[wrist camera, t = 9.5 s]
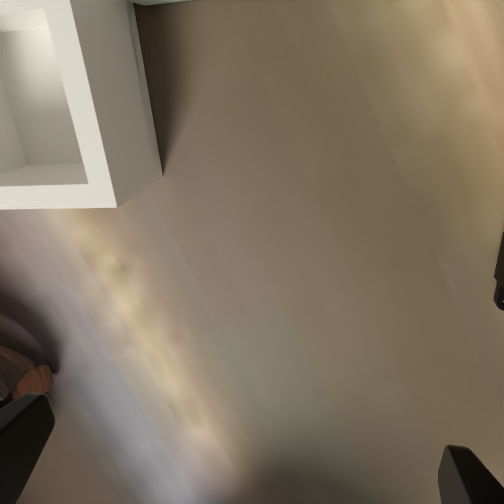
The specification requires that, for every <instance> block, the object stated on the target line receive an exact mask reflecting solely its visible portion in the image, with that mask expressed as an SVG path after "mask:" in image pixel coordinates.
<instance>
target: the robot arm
mask: <svg viewBox="0 0 504 504" xmlns="http://www.w3.org/2000/svg"><path fill="white" fill-rule="evenodd" d="M494 278H495V279H496V280H497V286H496V290H495V295H494V302H495V304H496V305H497V307H498V308H499V309H501V310H503V311H504V303H503V300H504V232H503V237H502V241H501V246H500V251H499V255H498V260H497V264H496V269H495V274H494ZM54 425H55V416H54V413H53V410H52V407H51V404H50V401H49V398H48V396H47V395H46V394H43V393H35V392H30V393H27V394H25V395H23V396H21V397H20V398H18V399H16V400H14V401H13V402H11V403H9V404H8V405H6V406H4V407H2V408H1V409H0V504H15V503H16V501H17V500H18V498H19V496H20V494H21V493H22V491H23V489H24V487H25V485H26V483H27V481H28V479H29V477H30V475H31V473H32V471H33V469H34V467H35V465H36V463H37V461H38V459H39V457H40V455H41V453H42V451H43V449H44V447H45V445H46V442H47V440H48V438H49V436H50V434H51V432H52V430H53V428H54ZM438 484H439V490H440V497H441V503H442V504H504V488H503V486H502V485H501V484H500V483H499V482H498V481H497V480H496V478H495V477H494V476H493V475H492V474H491V473H490V471H489V470H488V469H487V468H486V467H485V466H484V465H483V463H482V462H481V461H480V460H479V459H478V458H477V456H476V455H475V454H474V453H473V452H472V451H471V450H470V449H469V448H467V447H462V446H455V445H447V446H446V447H445V449H444V452H443V456H442V459H441V463H440V467H439V470H438Z"/></svg>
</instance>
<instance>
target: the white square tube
mask: <svg viewBox="0 0 504 504" xmlns="http://www.w3.org/2000/svg"><path fill="white" fill-rule="evenodd" d="M162 176H163V174H162V168H161V162H160V156H159V151H158V145H157V139H156V133H155V127H154V121H153V116H152V110H151V104H150V98H149V92H148V86H147V81H146V75H145V69H144V63H143V57H142V52H141V46H140V40H139V34H138V28H137V22H136V17H135V11H134V5H133V2H131V1H128V0H0V209H57V208H117V207H119V206H120V205H122V204H123V203H124V202H126V201H127V200H129V199H130V198H132V197H133V196H135V195H136V194H138V193H139V192H140V191H142V190H143V189H145V188H146V187H148V186H149V185H151V184H152V183H153V182H155V181H156V180H158V179H159V178H161V177H162Z"/></svg>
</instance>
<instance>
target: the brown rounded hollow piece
mask: <svg viewBox="0 0 504 504" xmlns="http://www.w3.org/2000/svg"><path fill="white" fill-rule="evenodd" d="M52 385H53V377H52V373H51V370H50V367H49V365H43V364H41V365H38V366H36V364H35V362H34V361H33V360H31V359H29V358H27V357H25V356H23V355H22V354H19V353H17V352H15V351H12V350H10V349H8V348H5V347H3V346H0V400H1V401H2V400H4V399H5V398H6V397H7V396H8V394H9V393H10V392H12V397H13V400H16V399H18V398H20V397H21V396H23V395H25V394H27V393H30V392H35V393H43V394H44V393H45V392H47V391H50V388H51V386H52Z"/></svg>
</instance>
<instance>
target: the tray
mask: <svg viewBox="0 0 504 504" xmlns="http://www.w3.org/2000/svg"><path fill="white" fill-rule="evenodd" d="M128 1H131V2H134V3H137V4H140V5H143V6H148V5H156V4H165V3H173V2H182V1H190V0H128Z"/></svg>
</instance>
